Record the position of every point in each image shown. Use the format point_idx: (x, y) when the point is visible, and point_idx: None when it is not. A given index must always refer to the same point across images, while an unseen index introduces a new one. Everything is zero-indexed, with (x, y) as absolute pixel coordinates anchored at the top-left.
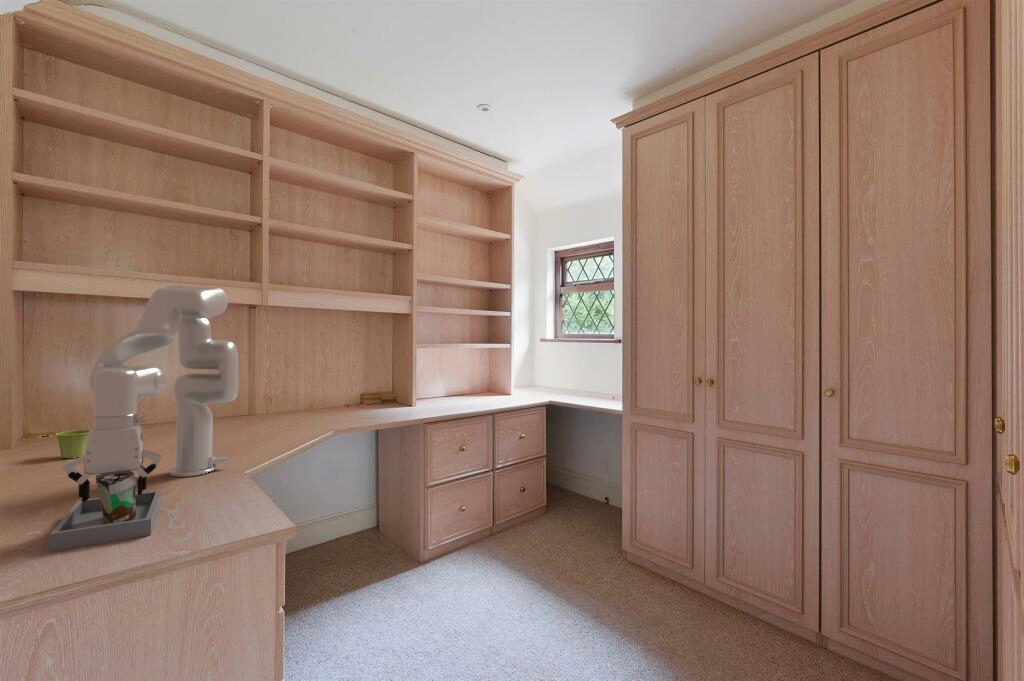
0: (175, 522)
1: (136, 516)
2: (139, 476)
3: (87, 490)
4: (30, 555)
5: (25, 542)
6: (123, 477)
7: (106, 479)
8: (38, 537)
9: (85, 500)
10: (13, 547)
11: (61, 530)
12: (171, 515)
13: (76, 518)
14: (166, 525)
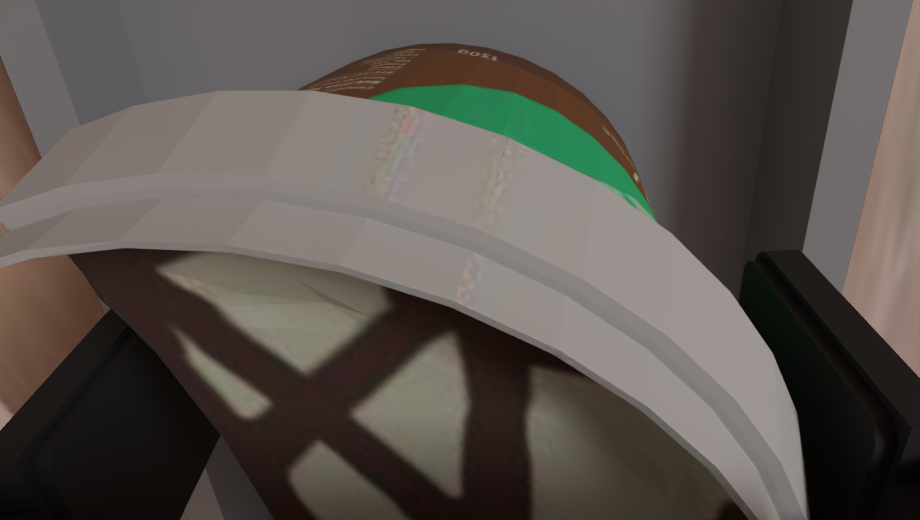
0: (896, 340)
1: (638, 173)
2: (864, 503)
3: (163, 482)
4: (185, 515)
5: (17, 325)
6: (596, 506)
7: (295, 411)
8: (40, 264)
9: (215, 431)
10: (4, 380)
11: (233, 502)
12: (904, 159)
13: (121, 39)
14: None
